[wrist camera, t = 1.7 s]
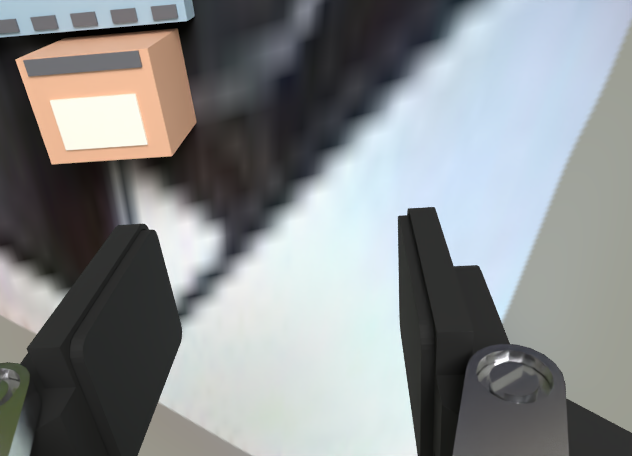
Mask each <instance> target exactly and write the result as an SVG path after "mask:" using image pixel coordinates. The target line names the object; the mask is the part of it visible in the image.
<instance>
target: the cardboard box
mask: <svg viewBox="0 0 632 456" xmlns="http://www.w3.org/2000/svg"><path fill="white" fill-rule="evenodd" d="M15 60H16V63H17V65H18V68H19V71H20V74H21V77H22V80H23V83H24V86H25V88H26V91H27V94H28V97H29V100H30V103H31V106H32V109H33V111H34V114H35V117H36V120H37V123H38V126H39V129H40V132H41V134H42V137H43V140H44V143H45V146H46V149H47V152H48V155H49V157H50V160H51V163H52V164H64V163H78V162H93V161H108V160H123V159H138V158H153V157H167V156H173V154H174V153H175V152H176V150H177V149H178V147H179V146H180V145H181V143H182V142H183V140H184V139H185V138H186V136H187V135H188V133H189V132H190V131H191V129H192V128H193V126H194V125H195V124H196V117H195V112H194V107H193V102H192V97H191V92H190V87H189V82H188V77H187V72H186V67H185V62H184V57H183V52H182V47H181V42H180V37H179V33H178V28H174V29H163V30H151V31H140V32H128V33H117V34H105V35H94V36H82V37H70V38H64V39H62V40H59V41H57V42H55V43H52V44H50V45H48V46H45V47H43V48H41V49H38V50H36V51H34V52H32V53H29V54H27V55H25V56H22V57H20V58H18V59H15Z"/></svg>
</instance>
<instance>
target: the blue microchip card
mask: <svg viewBox="0 0 632 456" xmlns="http://www.w3.org/2000/svg"><path fill="white" fill-rule="evenodd" d="M194 16H195V14H194V9H193V4H192V0H0V37H11V36H22V35H34V34H45V33H57V32H68V31H79V30H91V29H102V28H114V27H125V26H137V25H148V24H159V23H171V22H182V21H188V20H190V19H191V18H193V17H194Z"/></svg>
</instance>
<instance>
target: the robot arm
mask: <svg viewBox="0 0 632 456" xmlns="http://www.w3.org/2000/svg"><path fill="white" fill-rule="evenodd" d="M398 253H399V313H400V331H401V339H402V346H403V353H404V360H405V367H406V374H407V382H408V389H409V396H410V403H411V410H412V417H413V424H414V432H415V439H416V446H417V453H418V456H632V433H631V432H629V431H627V430H625V429H623V428H621V427H619V426H617V425H615V424H614V423H612V422H610V421H608V420H606V419H604V418H602V417H600V416H599V415H596V414H595V413H593V412H591V411H589V410H587V409H585V408H583V407H581V406H580V405H578V404H576V403H574V402H572V401H570V400H568V399H566V387H565V381H564V377H563V374H562V372H561V371H560V370H559V368H558V367H557V365H556V364H555V363H554V362H553V361H552V360H550V359H549V358H548V357H546V356H545V355H544V354H542V353H539V352H537V351H535V350H533V349H531V348H527V347H523V346H520V345H513V344H510V343H509V341H508V338H507V336H506V333H505V330H504V328H503V325H502V323H501V320H500V318H499V315H498V312H497V310H496V307H495V305H494V302H493V300H492V297H491V295H490V292H489V290H488V287H487V284H486V282H485V279H484V277H483V274H482V272H481V270H480V268H479V266H477V265H473V266H453V263H452V260H451V257H450V254H449V250H448V247H447V244H446V241H445V238H444V235H443V232H442V228H441V225H440V222H439V219H438V216H437V213H436V210H435V207H427V208H410V209H408V212H407V215H405V216H398ZM181 339H182V327H181V322H180V319H179V315H178V311H177V307H176V303H175V300H174V296H173V292H172V288H171V284H170V281H169V277H168V273H167V269H166V266H165V262H164V258H163V254H162V250H161V247H160V243H159V239H158V236H157V233H156V231H155V230H149V229H148V227H147V226H146V225H145V224H132V225H118V226H117V227H116V228H115V229H114V230H113V232H112V233H111V235H110V236H109V237H108V239H107V240H106V241H105V243H104V244H103V245H102V247H101V248H100V249H99V251H98V252H97V254H96V255H95V256H94V258H93V259H92V260H91V262H90V263H89V264H88V266H87V267H86V269H85V270H84V271H83V273H82V274H81V275H80V277H79V278H78V279H77V281H76V282H75V284H74V285H73V286H72V288H71V289H70V290H69V292H68V293H67V294H66V296H65V297H64V298H63V300H62V301H61V303H60V304H59V305H58V307H57V308H56V309H55V311H54V312H53V313H52V315H51V316H50V318H49V319H48V320H47V322H46V323H45V324H44V326H43V327H42V328H41V330H40V331H39V332H38V334H37V335H36V337H35V338H34V339H33V341H32V342H31V343H30V345H29V346H28V348H27V350H28V354H27V355H26V357H25V358H24V359H23V361H22V362H21V364H18V363H8V362H7V363H0V456H137V455H138V453H139V450H140V448H141V445H142V442H143V440H144V437H145V435H146V432H147V429H148V426H149V424H150V422H151V419H152V416H153V414H154V411H155V408H156V406H157V403H158V401H159V398H160V395H161V393H162V390H163V388H164V385H165V382H166V380H167V377H168V374H169V372H170V369H171V367H172V364H173V361H174V359H175V356H176V354H177V351H178V348H179V346H180V343H181Z"/></svg>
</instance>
